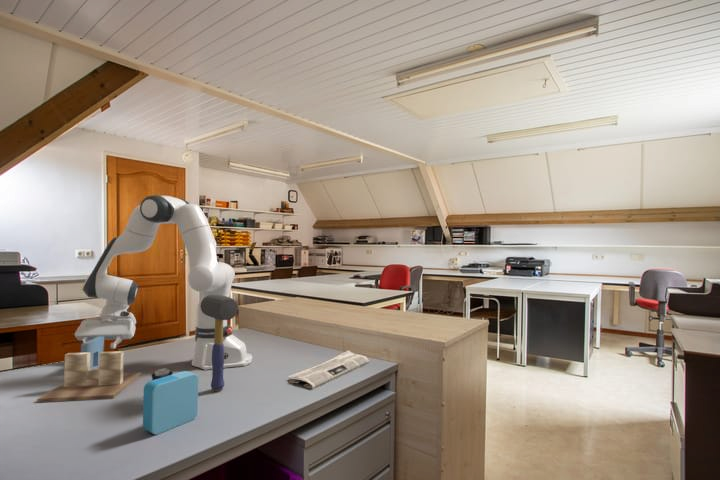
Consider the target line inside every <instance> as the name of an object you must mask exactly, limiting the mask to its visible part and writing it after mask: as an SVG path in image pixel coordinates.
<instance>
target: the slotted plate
mask: <svg viewBox="0 0 720 480" xmlns="http://www.w3.org/2000/svg"><path fill="white" fill-rule="evenodd" d="M84 352H91V354H90V369H94V367H97V366H98V367H99V354H100V353H101V352H105V340H104V336H98V337H96V338H94V339H92V340H89V341H88V342H85V343H84V342H82V343H81V345H80V353H84Z"/></svg>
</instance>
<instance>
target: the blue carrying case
mask: <svg viewBox="0 0 720 480" xmlns="http://www.w3.org/2000/svg"><path fill="white" fill-rule="evenodd" d="M142 398H143V400H142V403H143V405H142V406H143V407H142V408H143V409H142V429H144V430H145V431H147V432H149V433H151V434H152V435H155V436H156V435H160V434H162V433H165V432H167V431H169V430H172V429H174V428H177V427H179V426H181V425H182V426H183V425H184V424H187V423H188V422H191V421H193V420H195V419H196V417H197V416H198V412H199V375H197V374H196V373H193V372H190V371H187V370H183V371H180V372H176V373H173V374H172V375H169V376H165V377H162V378H159V379H155V380H150V381H147V382H146V383H145V385H144V387H143V397H142Z"/></svg>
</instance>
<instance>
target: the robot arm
mask: <svg viewBox="0 0 720 480" xmlns="http://www.w3.org/2000/svg"><path fill="white" fill-rule="evenodd" d="M162 224H166V225H172V224H173V225H174V224H175V225H176V226H177V227H178V231H179V232H180V235H181V238H182V241H183V244H184V247H185V249H186V252H187V256H188V263H189V264H188V265H189V273H188V277H187V281H188V285H189V286H190V288H191V289H192V290H194V291H196V292H199V293H202V295H201V298H200V300H199V303H198V304H197V308H196V310H197V311H196V326H195V330H194V339H195V349H194V354H193V358H192V361H191V365H192V366H194V367H195V368H196V367H197V368H200V369H202V370H205V371H206V370H212V369H213V368H212V350H213V345H214V338H215V318H212V317H210V316H207V315H205V314H204V313H203V312H202V310H201V302H202V300H203V299H204V298H205V297H206V296H208V295H223V296H227V297H230V295H231V290H232V285H233V281H234V280H235V277H236V276H235V275H236V274H235V270H234V268H233V266H231V265H230V264H228V263H226V262H223V261H218V257H217V241H216V239H215V237H214V233H213V231H212V228H211V225H210V223H209V221H208V218H207V217H206V214H205V213H204V211H203V210H202V208H201V206H199V205H198V204H196V203H190V202H188V201H187V200H186V199H183V198H180V197H179V198H178V197H175V196H174V197H173V196H171V195H159V194H153V195H148V196H146V197H145V198H143V199H142V200H141V203H140V204H139V205H137V206H136V207H134V210H133V211H132V212H131V215H129V218H128V221H127V222H126V226H125V229H124V231H123V232H122V233H121V234H120V235H119V236H116V237H114V238H112V239H111V240H110V241H109V242H108V244H107V246H106V247H105V249H104V250H103V252H102V254H101V256H100V257H99V259H98V261H97V262H96V264H95V266H94V268H93V270H92V271H91V273H90V274H89V275H88V277H87V278H86V279H85V281H84V283H83V286H82V290H83V292H84V294H85V296H87V297H88V298H93V299H102V300H106V301H105V305H104V306H103V308H102V309H101V311H100V313H99V315H98V317H95V318H93V317H89V318H86V319H84V320H82V321H81V322H80V325H78V327H77V329H76V330H75V332H74V338H76V340H78V341H82V343H85V342H88V341H90V340H92V339H94V338H96V337H98V336H104V341H105V340H106V341H109V340H112V341H113V340H114V342H110V346H109V348H110V349H111V350H113V349H114V350H115V349H116V348H117V345H119V344H120V343H122V341H123V340H131V339H133V337H134V335H135V333H136V329H137V328H136V324H137V320H136V317H135V316H134V315H135V314H133V313H132V312H131V311H130V312H129V311H128V309H129V307H130V306H131V305H132V304H133V303H135V300H136V297H137V295H138V292H139V286H138V283H136V281H135V280H132V279H128V278H124V277H119V276H114V275H110V274H107V273H106V271H107V269H108V268H109V266H110V264H111V262H112V261H113V260H114V259H113V258H114V257H116V256H119V255H125V254H138V253H142V252H144V251H147V250H149V248H151V247H152V245H153V243H154V241H155V238H156V236H157V232H158V230H159V227H160V225H162ZM223 345H224V366H223V369H227V368H234V367H235V368H236V367H245V366H247V365H249V364H251V363H252V361H253V354H251V353H248V351H247V346H246V343H245V342H244V341H243V340H241V339H240V338H238V337H236V336H235V335H234V334H233V326H232V325H229V324H228V320H223Z"/></svg>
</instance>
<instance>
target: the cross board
mask: <svg viewBox="0 0 720 480" xmlns="http://www.w3.org/2000/svg"><path fill="white" fill-rule="evenodd" d="M90 354H91V352H84V353H81V352H68V353H65V354H64V370H63V371H64V374H63V375H64V377H63V378H64V379H63V380H64V381H63V383H62V384H60V385H58V386H56V387H55V388H53V389H52V390H50V391H48V392H47V393H45V394H43V395H42V396H40V397H38V398H37V400H36V403H51V402H67V401H68V402H70V401H89V400H105V399H106V400H107V399H115V398H116V397H117V396H118V395H119V394H120V393H122V392H123V391H124V390H126V388H127V387H128V388H129V386H130V385H131V384H132V383H134V381H136V380H137V379H138V378H139V377H141V376H142V372H124V356H125V355H124V354H125V351H124V350H119V351H117V350H116V351H115V350H114V351H112V350H111V351H104V352H101V353H100V354H99V365H98V368H93V369H90Z"/></svg>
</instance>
